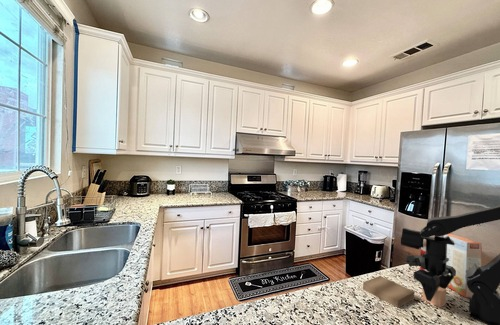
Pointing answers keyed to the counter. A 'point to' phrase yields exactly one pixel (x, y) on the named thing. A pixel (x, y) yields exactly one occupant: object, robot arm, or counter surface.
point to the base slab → (388, 291)
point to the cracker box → (462, 261)
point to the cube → (437, 297)
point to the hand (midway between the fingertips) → (434, 297)
